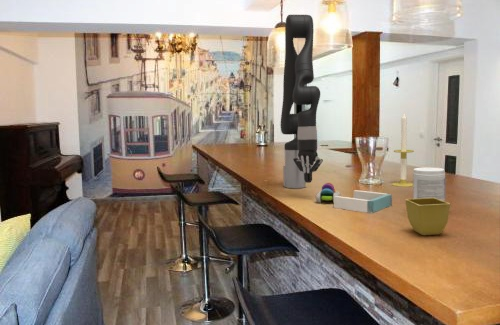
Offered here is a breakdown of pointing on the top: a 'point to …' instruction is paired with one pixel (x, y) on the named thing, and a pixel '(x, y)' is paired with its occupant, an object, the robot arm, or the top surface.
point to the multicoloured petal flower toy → (327, 193)
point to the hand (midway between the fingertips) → (308, 182)
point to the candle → (403, 155)
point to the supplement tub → (429, 183)
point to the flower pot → (427, 215)
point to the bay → (364, 201)
